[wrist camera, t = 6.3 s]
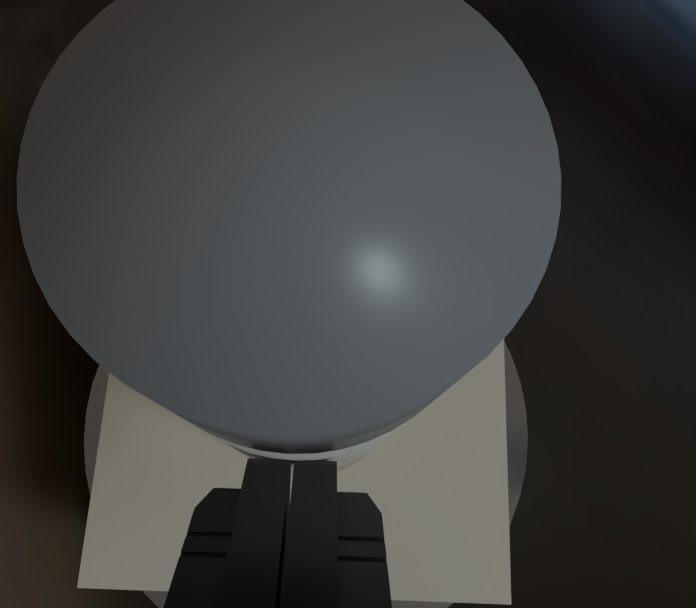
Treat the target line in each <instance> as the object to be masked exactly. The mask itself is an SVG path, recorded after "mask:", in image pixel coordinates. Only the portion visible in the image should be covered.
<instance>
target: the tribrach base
mask: <svg viewBox="0 0 696 608" xmlns="http://www.w3.org/2000/svg"><path fill="white" fill-rule="evenodd" d="M505 338H506V337H505ZM505 338H504V339H505ZM504 359H505V395H506V431H507V467H508V503H509V526H510V523H511V521H512V518H513V515H514V512H515V509H516V506H517V503H518V500H519V497H520V494H521V489H522V484H523V479H524V474H525V469H526V458H527V443H528V434H527V419H526V408H525V403H524V398H523V393H522V388H521V383H520V380H519V377H518V374H517V371H516V368H515V365H514V362H513V359H512V356H511V354H510V352H509V350H508V348H507V346H506V344H505V342H504ZM108 377H109V372H108V371H107V370H106V369H105V368H103V367H102V366H101V365H99V367H98V369H97V372H96V375H95V378H94V381H93V383H92V388H91V392H90V397H89V401H88V406H87V411H86V420H85V433H84V454H85V471H86V476H87V481H88V486H89V492H90V497H91V491H92V485H93V478H94V471H95V465H96V458H97V451H98V444H99V438H100V431H101V424H102V418H103V411H104V404H105V397H106V391H107V384H108ZM142 591H143V592H144V593H145V594H146V595H147V596H148V597H149V598H150V599H151V600H152V601H153V602H154V604H155V605H156V606H158V607H159V608H163V607H164V604H165V601H166V597H167V594H168V591H146V590H142ZM391 602H392V608H448V607H449V606H450V605H451V604H453V603H454V602H431V601H405V600H391Z"/></svg>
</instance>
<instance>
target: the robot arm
mask: <svg viewBox="0 0 696 608" xmlns="http://www.w3.org/2000/svg"><path fill="white" fill-rule="evenodd" d="M290 487H291V460H282V459H258V458H248V460H247V464H246V468H245V473H244V477H243V482H242V487H241V489H238V488H213V489H212V490H211V491H210V492H209V493H208V494H207V495H206V496H205V497H204V498H203V499H202V500H201V501H200V502H199V504H198V505H197V506H196V507H195V508H194V511H193V514H192V518H191V521H190V524H189V527H188V530H187V536H186V537H185V540H184V543H183V546H182V549H181V556H180V557H179V559H178V562H177V565H176V569H175V572H174V575H173V578H172V581H171V585H170V588H169V591H168V594H167V597H166V601H165V604H164V607H163V608H392V602H391V593H390V584H389V575H388V566H387V561H386V559H387V556H386V547H385V542H384V529H383V520H382V513H381V512H380V510H379V509H378V507H377V506H376V505H375V503H374V502H373V500H372V499H371V498H370V496H369V495H368V493H361V492H337V461H319V460H297V461H294V469H293V479H292V489H291V500H290Z"/></svg>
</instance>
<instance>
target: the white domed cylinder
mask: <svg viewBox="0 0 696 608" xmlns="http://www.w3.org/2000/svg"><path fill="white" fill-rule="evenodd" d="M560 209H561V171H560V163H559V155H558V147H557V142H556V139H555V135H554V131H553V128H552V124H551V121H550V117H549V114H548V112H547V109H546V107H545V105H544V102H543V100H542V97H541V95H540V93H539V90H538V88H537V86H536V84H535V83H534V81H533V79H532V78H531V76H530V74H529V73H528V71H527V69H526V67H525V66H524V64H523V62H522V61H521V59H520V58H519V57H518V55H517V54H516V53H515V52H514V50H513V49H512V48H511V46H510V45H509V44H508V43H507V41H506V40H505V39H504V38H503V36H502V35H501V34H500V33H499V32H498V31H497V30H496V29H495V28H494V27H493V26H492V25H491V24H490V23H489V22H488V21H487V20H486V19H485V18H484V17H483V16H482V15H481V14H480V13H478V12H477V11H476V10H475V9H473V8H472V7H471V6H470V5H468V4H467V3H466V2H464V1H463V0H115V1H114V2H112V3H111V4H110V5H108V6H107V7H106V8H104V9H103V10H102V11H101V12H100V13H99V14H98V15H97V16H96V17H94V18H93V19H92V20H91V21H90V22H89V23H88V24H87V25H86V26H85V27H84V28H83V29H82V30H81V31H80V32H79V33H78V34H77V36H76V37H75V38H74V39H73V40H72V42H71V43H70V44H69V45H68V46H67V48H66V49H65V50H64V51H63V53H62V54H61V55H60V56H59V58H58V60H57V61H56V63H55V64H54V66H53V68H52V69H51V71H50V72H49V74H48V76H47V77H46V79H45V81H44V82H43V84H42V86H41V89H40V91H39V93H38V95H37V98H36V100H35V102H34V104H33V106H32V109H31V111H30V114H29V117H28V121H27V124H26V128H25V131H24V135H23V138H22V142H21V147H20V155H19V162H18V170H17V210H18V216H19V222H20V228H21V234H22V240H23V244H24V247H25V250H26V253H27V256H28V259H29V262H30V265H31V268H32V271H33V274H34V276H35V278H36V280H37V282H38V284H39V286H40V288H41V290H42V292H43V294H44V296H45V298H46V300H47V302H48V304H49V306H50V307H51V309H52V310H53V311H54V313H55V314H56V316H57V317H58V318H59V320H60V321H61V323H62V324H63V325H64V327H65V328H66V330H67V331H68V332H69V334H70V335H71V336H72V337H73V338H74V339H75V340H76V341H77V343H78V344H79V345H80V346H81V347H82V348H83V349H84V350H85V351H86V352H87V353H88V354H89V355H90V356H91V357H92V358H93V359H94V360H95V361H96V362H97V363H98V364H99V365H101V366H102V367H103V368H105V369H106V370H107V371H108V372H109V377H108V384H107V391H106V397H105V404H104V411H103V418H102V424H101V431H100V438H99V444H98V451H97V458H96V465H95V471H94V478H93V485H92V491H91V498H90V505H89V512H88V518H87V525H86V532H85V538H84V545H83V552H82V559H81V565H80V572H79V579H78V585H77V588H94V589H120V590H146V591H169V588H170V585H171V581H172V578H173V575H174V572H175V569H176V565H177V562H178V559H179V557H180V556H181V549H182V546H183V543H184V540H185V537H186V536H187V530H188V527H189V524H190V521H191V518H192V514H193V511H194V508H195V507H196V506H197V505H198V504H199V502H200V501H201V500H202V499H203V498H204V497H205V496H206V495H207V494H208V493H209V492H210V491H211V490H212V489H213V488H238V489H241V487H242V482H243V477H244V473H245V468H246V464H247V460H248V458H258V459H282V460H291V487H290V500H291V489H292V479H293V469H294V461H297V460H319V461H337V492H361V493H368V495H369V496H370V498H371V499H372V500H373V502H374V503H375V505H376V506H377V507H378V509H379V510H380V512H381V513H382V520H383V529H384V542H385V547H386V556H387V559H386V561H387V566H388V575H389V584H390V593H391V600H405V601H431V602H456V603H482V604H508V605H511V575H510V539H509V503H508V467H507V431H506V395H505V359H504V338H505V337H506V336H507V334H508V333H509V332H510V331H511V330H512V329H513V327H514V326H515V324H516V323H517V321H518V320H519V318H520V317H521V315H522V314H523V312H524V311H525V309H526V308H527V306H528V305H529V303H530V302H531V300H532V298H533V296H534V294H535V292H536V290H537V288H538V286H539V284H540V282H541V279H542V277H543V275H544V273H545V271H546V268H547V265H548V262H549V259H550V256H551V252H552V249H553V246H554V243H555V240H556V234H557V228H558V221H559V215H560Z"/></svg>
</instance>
